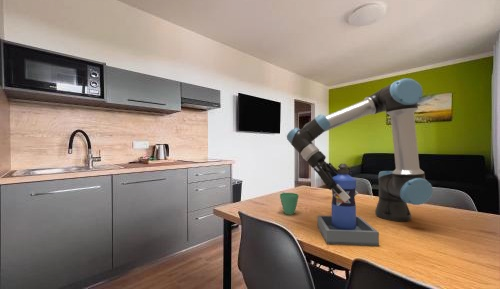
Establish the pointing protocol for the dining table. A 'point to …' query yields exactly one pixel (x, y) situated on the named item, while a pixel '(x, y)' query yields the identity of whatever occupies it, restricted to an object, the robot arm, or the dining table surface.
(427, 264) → the dining table surface
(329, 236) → the tray
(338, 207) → the blue plastic bottle
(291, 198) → the mug
